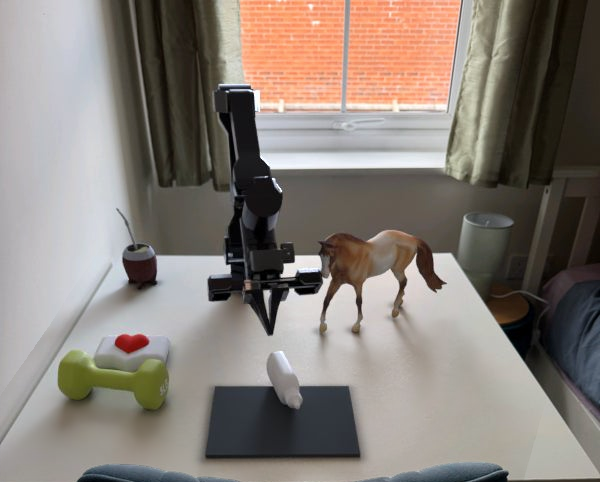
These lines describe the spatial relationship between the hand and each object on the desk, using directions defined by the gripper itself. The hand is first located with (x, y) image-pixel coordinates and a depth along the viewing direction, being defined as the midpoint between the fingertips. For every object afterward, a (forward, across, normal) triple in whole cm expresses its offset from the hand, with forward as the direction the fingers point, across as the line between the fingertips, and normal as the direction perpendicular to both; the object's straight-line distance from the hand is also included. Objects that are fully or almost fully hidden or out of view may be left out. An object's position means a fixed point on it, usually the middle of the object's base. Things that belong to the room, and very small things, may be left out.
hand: (270, 335), depth 98 cm
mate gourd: (-23, -22, +34) cm, 46 cm away
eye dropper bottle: (+5, 0, +1) cm, 5 cm away
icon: (0, -23, +11) cm, 26 cm away
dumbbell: (+8, -25, +3) cm, 27 cm away
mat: (+15, 0, -4) cm, 15 cm away
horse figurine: (-4, +24, +15) cm, 28 cm away
